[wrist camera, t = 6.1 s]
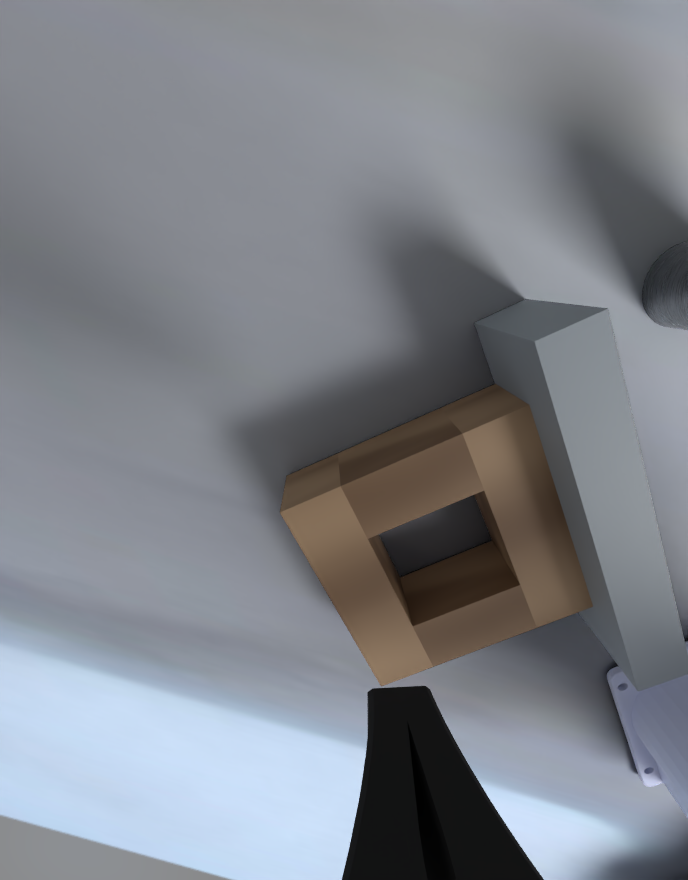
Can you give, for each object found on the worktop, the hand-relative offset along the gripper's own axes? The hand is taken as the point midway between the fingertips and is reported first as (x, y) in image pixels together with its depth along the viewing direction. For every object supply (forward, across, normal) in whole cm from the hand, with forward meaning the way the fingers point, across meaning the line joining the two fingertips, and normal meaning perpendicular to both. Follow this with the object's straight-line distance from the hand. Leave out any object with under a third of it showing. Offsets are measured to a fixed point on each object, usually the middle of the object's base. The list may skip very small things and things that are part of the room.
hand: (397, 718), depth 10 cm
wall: (+9, -8, -2) cm, 12 cm away
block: (+9, -3, 0) cm, 10 cm away
